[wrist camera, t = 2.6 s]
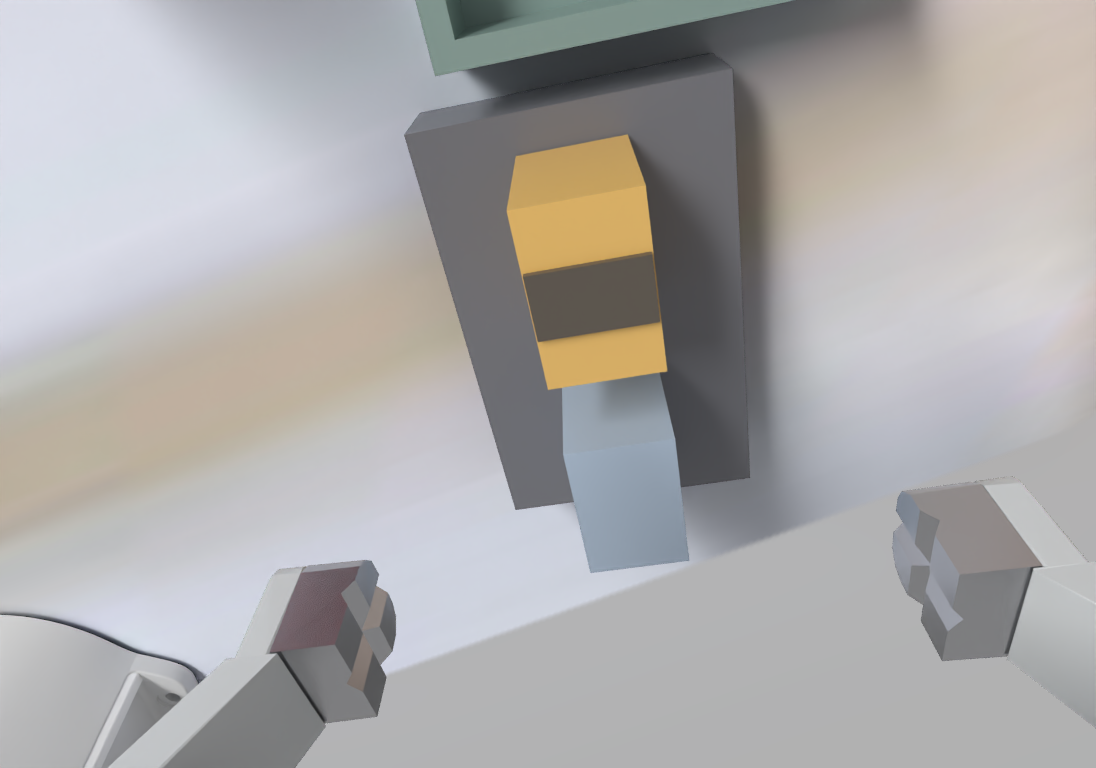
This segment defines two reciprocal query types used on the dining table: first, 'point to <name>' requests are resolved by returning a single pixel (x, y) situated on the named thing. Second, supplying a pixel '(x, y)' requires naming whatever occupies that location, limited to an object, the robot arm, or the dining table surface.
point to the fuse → (624, 473)
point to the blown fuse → (587, 262)
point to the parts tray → (548, 25)
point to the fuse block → (678, 244)
